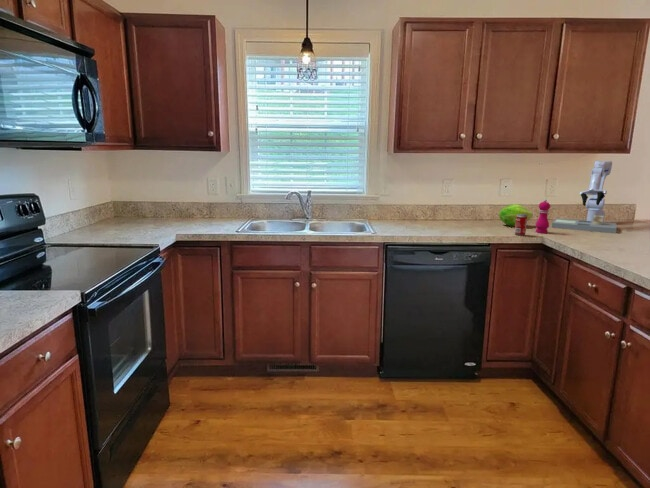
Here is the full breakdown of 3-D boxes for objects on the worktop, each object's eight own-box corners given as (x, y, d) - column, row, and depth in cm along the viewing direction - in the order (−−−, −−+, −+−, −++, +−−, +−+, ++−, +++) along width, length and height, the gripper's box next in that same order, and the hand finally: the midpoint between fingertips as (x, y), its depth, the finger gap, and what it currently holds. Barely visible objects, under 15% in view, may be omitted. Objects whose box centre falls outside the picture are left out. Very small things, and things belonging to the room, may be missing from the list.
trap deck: (615, 227, 271) (616, 223, 270) (615, 233, 253) (616, 228, 252) (555, 222, 289) (556, 218, 288) (551, 227, 271) (552, 222, 271)
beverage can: (518, 233, 252) (520, 213, 249) (527, 235, 247) (529, 214, 244) (512, 234, 249) (514, 214, 246) (520, 236, 244) (522, 215, 241)
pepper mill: (537, 233, 252) (540, 199, 248) (533, 231, 259) (536, 198, 255) (550, 233, 251) (554, 200, 247) (545, 231, 258) (549, 198, 254)
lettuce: (534, 229, 267) (533, 208, 262) (500, 231, 275) (498, 212, 270) (532, 219, 280) (531, 200, 274) (499, 222, 287) (497, 203, 282)
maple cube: (602, 223, 267) (603, 216, 266) (602, 225, 263) (603, 217, 262) (592, 223, 270) (594, 215, 269) (592, 224, 266) (593, 216, 265)
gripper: (579, 183, 272) (575, 202, 269) (605, 181, 260) (601, 201, 257) (584, 188, 276) (580, 207, 273) (609, 186, 264) (605, 206, 261)
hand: (590, 204), depth 265 cm, fingers open, 7 cm apart
